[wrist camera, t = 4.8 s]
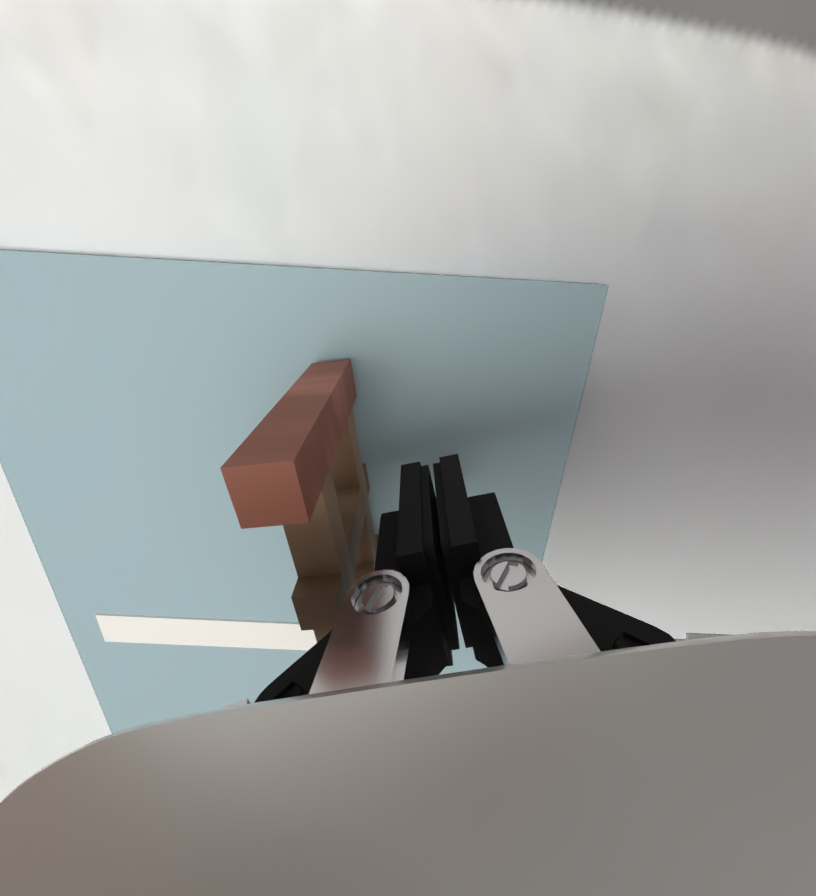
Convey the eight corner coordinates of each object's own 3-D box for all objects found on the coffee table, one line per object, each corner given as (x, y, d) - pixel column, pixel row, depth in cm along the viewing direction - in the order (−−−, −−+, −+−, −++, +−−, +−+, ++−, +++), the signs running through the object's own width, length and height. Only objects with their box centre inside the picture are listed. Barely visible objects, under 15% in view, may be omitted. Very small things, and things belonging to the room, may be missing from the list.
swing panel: (395, 621, 18) (386, 822, 11) (367, 623, 18) (343, 824, 11) (350, 358, 13) (293, 460, 7) (311, 363, 13) (220, 467, 7)
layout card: (602, 284, 13) (609, 285, 12) (484, 785, 24) (486, 795, 24) (-75, 245, 12) (-94, 245, 12) (134, 771, 24) (129, 781, 23)
